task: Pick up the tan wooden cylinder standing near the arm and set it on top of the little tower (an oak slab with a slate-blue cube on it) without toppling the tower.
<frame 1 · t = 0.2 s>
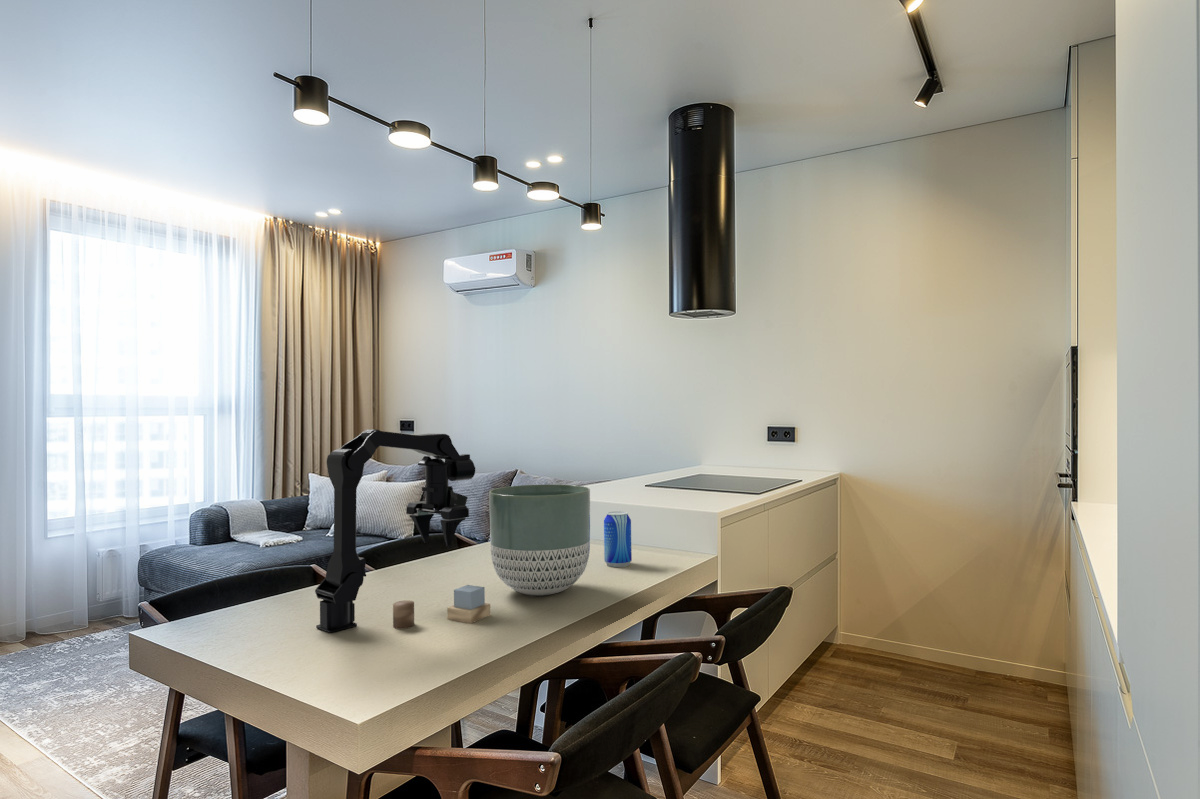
hand: (437, 544, 174), 14 cm above the table, fingers open, 9 cm apart
planter: (541, 592, 181), on the table
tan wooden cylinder: (403, 625, 154), on the table
beer can: (618, 565, 211), on the table
top block: (469, 605, 159), point 3 cm above the table
base block: (469, 618, 159), on the table
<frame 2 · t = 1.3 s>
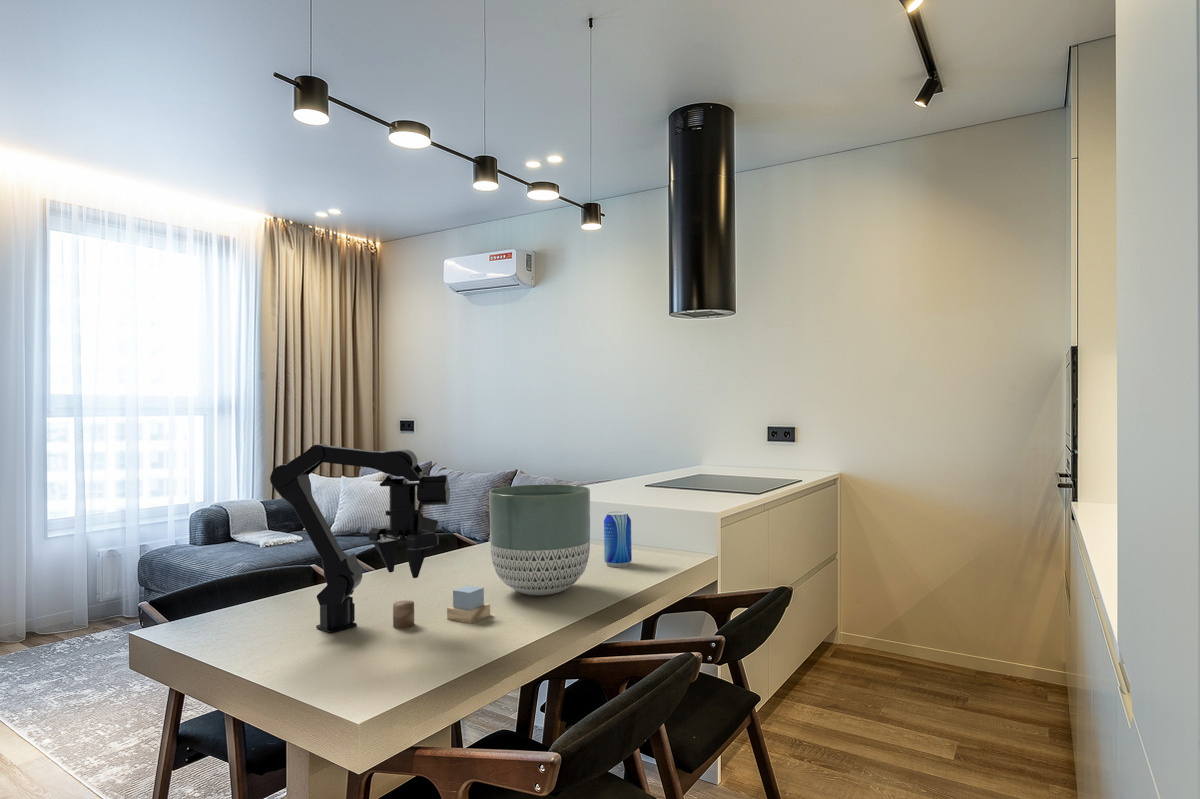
hand: (403, 574, 154), 11 cm above the table, fingers open, 9 cm apart
top block: (468, 606, 159), point 3 cm above the table, touching base block
base block: (468, 618, 159), on the table, touching top block
everything else where it was.
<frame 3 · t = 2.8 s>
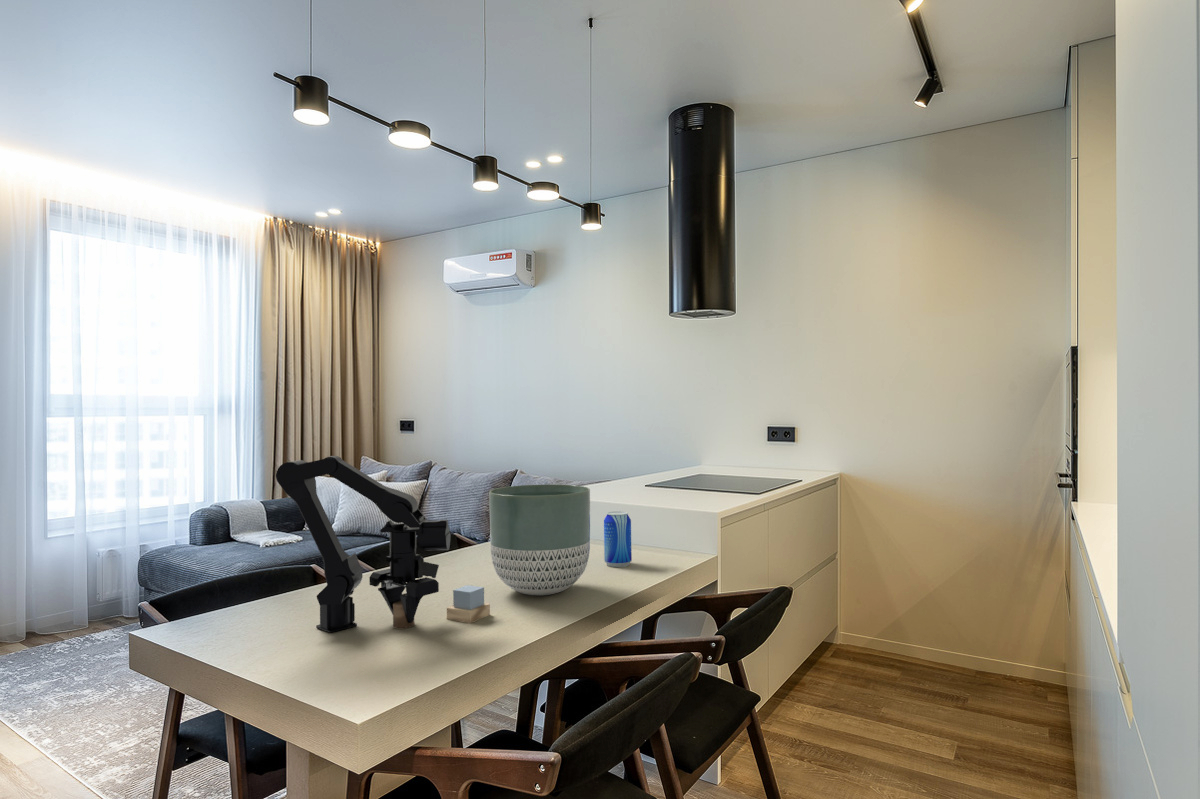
hand: (403, 620, 154), 1 cm above the table, fingers closed on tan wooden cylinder, 5 cm apart
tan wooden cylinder: (403, 625, 154), on the table, touching gripper
everything else where it was.
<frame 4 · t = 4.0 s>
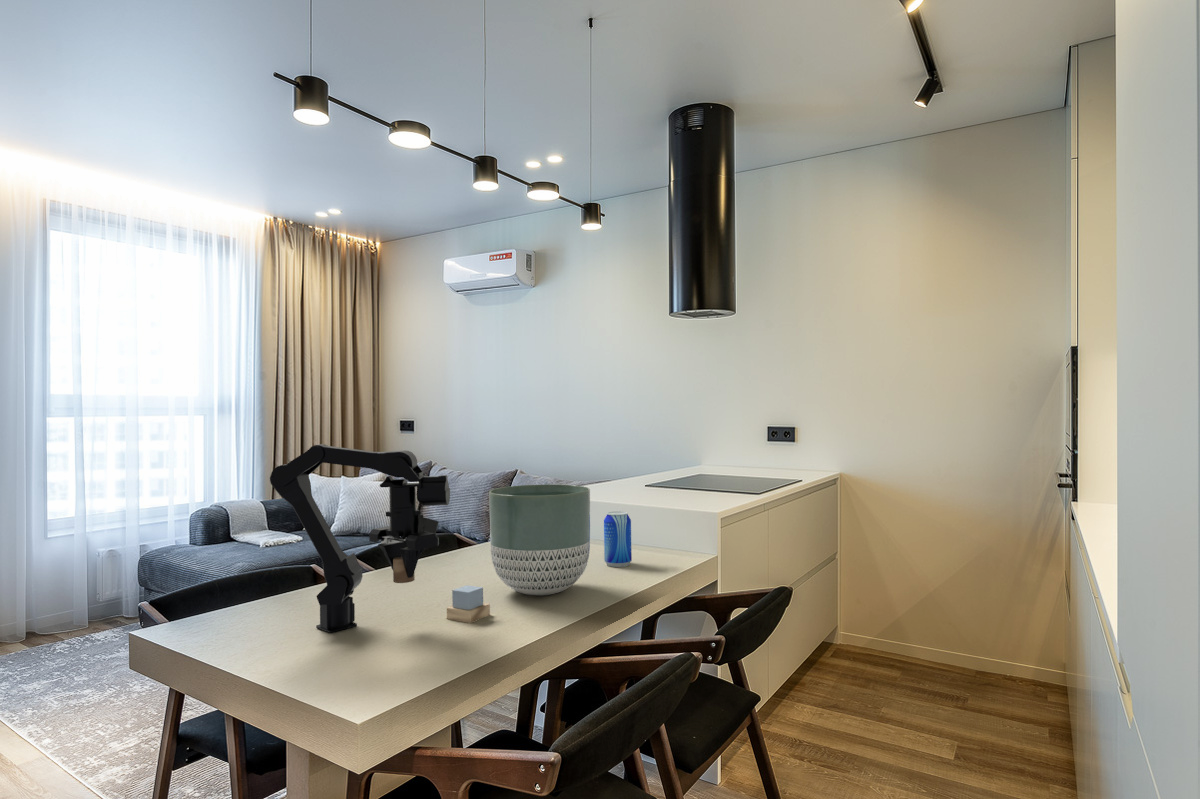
hand: (403, 575, 154), 11 cm above the table, fingers closed on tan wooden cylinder, 5 cm apart
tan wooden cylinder: (404, 580, 154), point 10 cm above the table, touching gripper
everything else where it was.
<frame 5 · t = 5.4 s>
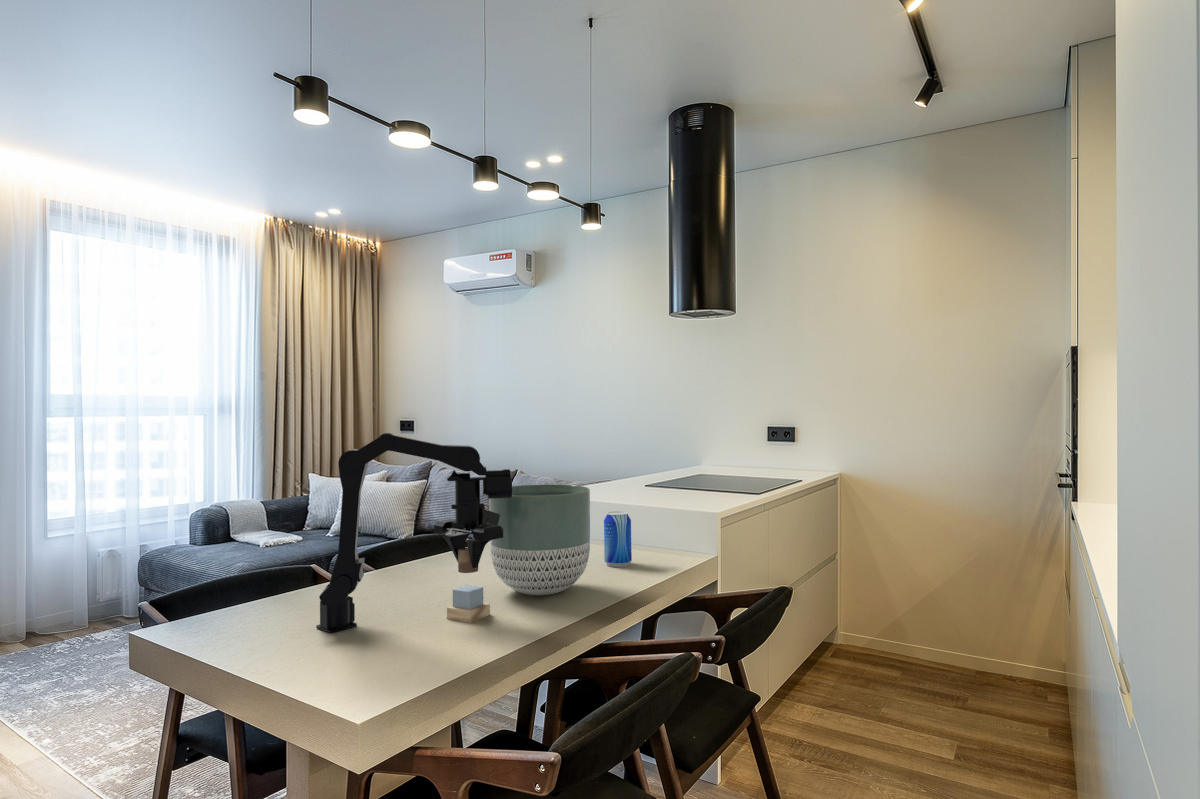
hand: (468, 566, 160), 12 cm above the table, fingers closed on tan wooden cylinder, 5 cm apart
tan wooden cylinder: (468, 570, 160), point 11 cm above the table, touching gripper
everything else where it was.
when the fingers open (9 cm above the table, at t = 6.3 s): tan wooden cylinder drops 1 cm, resting on top block.
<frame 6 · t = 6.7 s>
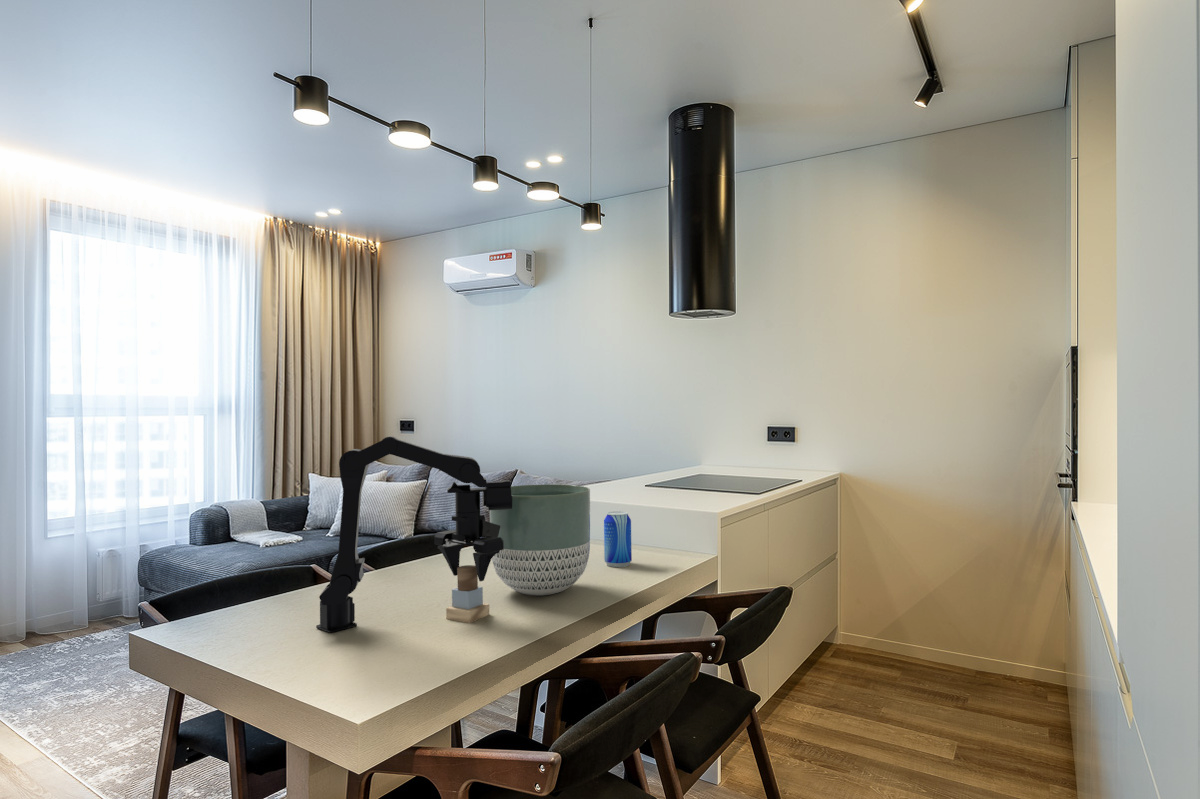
hand: (468, 578, 159), 9 cm above the table, fingers open, 9 cm apart
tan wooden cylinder: (467, 588, 159), point 7 cm above the table, touching top block
top block: (467, 605, 160), point 3 cm above the table, touching base block, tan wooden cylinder
everything else where it was.
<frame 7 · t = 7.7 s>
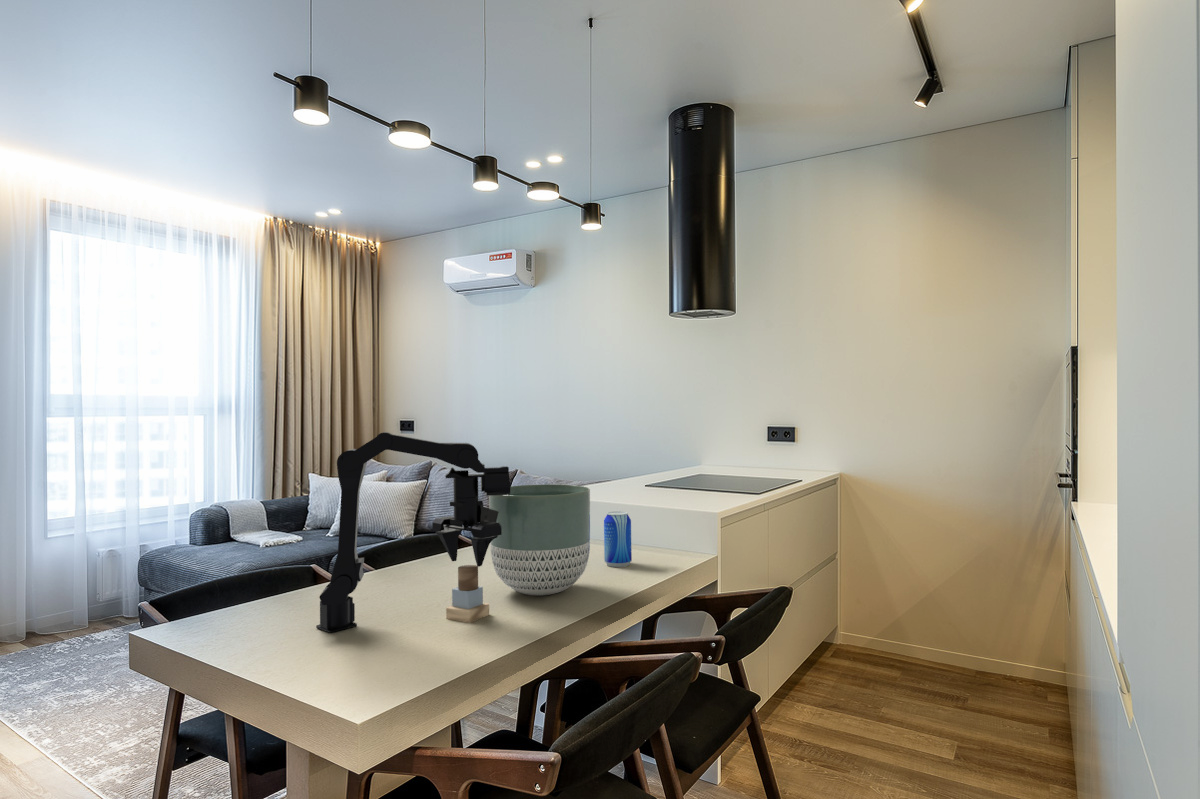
hand: (466, 563, 160), 12 cm above the table, fingers open, 9 cm apart
nothing on the table moved.
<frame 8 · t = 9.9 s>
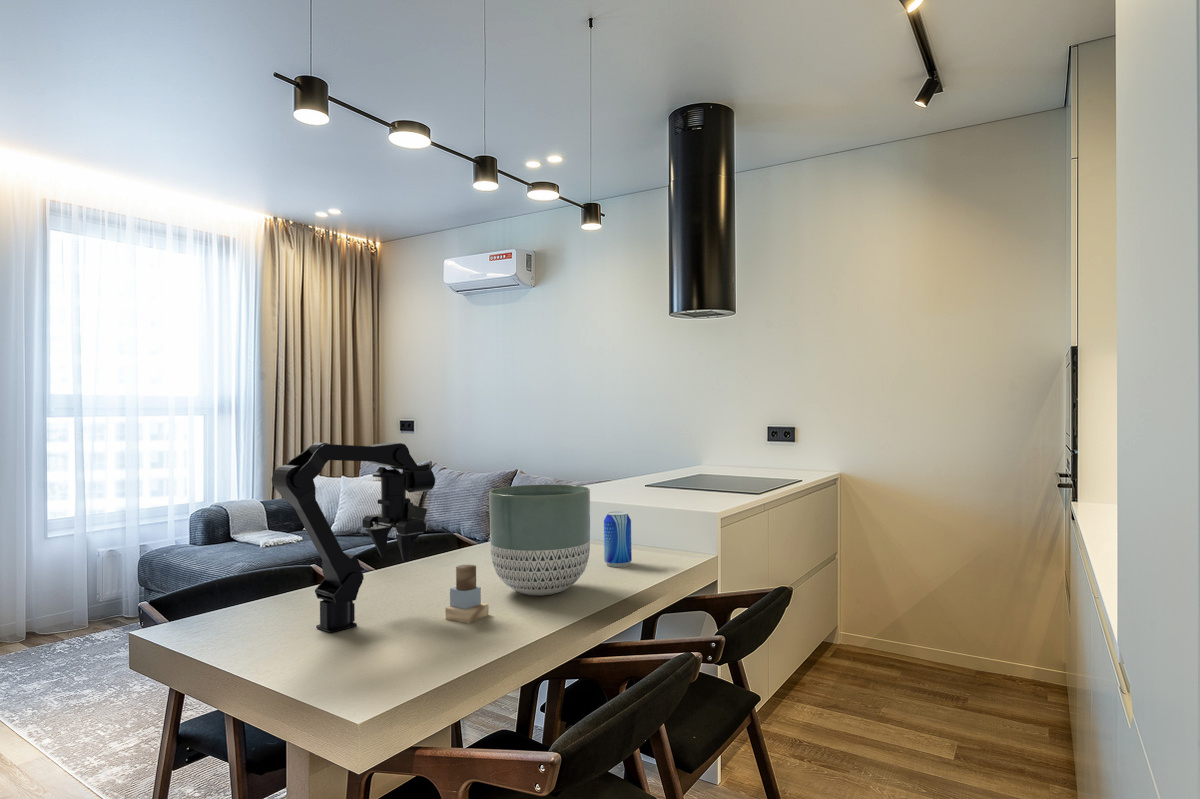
hand: (394, 559, 165), 13 cm above the table, fingers open, 9 cm apart
top block: (465, 605, 160), point 3 cm above the table, touching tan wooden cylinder
base block: (467, 618, 159), on the table
everything else where it was.
at the end: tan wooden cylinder 0.4 cm off-centre on the top block, point 4.0 cm above the top block's base; top block tilted 0°; top block 0.7 cm from the base block (horizontally) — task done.
